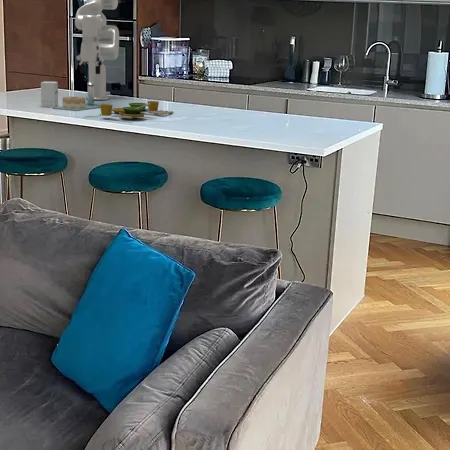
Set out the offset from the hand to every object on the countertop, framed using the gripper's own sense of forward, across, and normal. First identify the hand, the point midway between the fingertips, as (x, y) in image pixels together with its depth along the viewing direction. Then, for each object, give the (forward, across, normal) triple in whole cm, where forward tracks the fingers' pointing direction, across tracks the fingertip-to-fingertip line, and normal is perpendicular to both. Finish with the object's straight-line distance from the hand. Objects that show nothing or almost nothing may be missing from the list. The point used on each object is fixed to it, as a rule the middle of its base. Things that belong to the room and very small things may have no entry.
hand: (90, 73), depth 383 cm
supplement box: (+18, +16, +14) cm, 27 cm away
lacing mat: (+17, 0, +6) cm, 18 cm away
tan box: (+17, 0, +13) cm, 21 cm away
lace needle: (+17, 0, -1) cm, 17 cm away
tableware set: (+18, -30, +6) cm, 36 cm away
